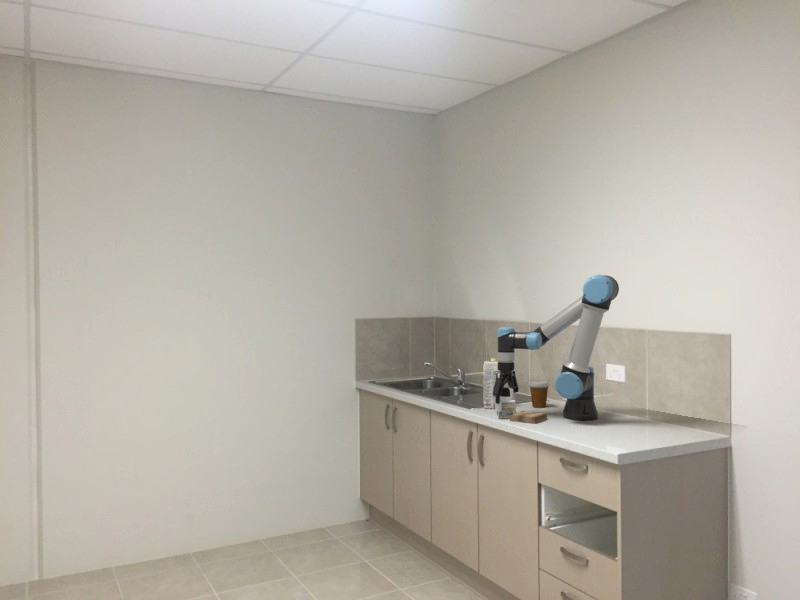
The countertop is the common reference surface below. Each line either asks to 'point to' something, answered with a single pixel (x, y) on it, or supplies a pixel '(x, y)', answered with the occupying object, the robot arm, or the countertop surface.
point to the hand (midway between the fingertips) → (505, 408)
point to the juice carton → (489, 382)
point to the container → (507, 404)
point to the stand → (528, 417)
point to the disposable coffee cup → (539, 393)
